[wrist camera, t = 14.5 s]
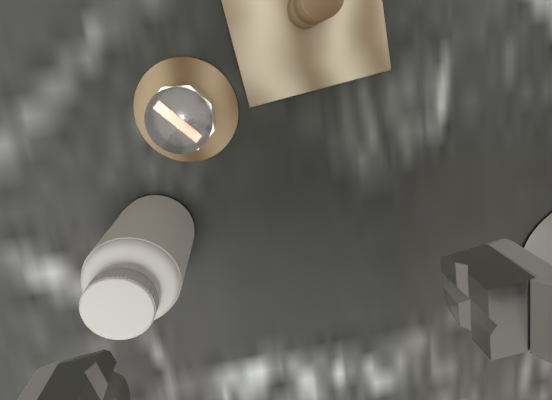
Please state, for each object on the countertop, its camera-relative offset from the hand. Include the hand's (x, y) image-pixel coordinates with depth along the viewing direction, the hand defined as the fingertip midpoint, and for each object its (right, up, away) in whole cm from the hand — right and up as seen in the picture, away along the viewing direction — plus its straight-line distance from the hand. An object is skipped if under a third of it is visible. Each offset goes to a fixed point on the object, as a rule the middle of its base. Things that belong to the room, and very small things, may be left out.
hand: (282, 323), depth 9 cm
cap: (-9, +11, +28) cm, 31 cm away
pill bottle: (-13, 0, +32) cm, 35 cm away
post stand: (+2, +21, +26) cm, 33 cm away
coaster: (-9, +12, +28) cm, 32 cm away
